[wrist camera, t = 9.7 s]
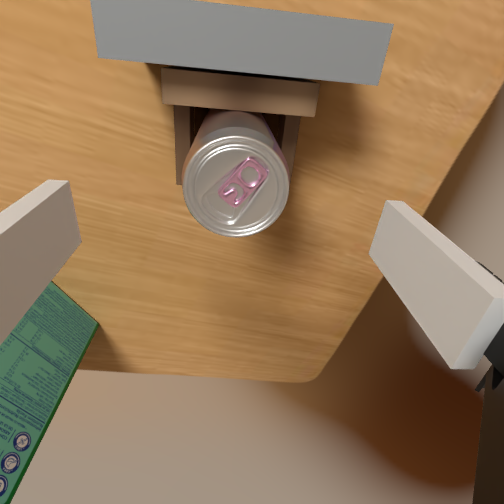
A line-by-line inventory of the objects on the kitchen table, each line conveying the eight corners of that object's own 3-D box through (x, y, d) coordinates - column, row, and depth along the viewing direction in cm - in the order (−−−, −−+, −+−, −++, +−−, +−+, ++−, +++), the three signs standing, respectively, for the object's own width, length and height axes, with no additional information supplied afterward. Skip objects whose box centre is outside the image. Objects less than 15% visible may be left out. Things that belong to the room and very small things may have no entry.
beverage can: (280, 131, 30) (316, 187, 17) (237, 177, 32) (240, 259, 19) (231, 81, 27) (230, 103, 15) (188, 135, 29) (155, 195, 17)
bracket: (181, 172, 31) (167, 204, 24) (179, 65, 26) (160, 68, 20) (283, 179, 32) (297, 212, 25) (298, 77, 27) (320, 83, 20)
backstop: (142, 57, 26) (98, 57, 18) (138, 12, 25) (88, -12, 16) (332, 76, 28) (377, 85, 19) (340, 34, 26) (393, 23, 17)
